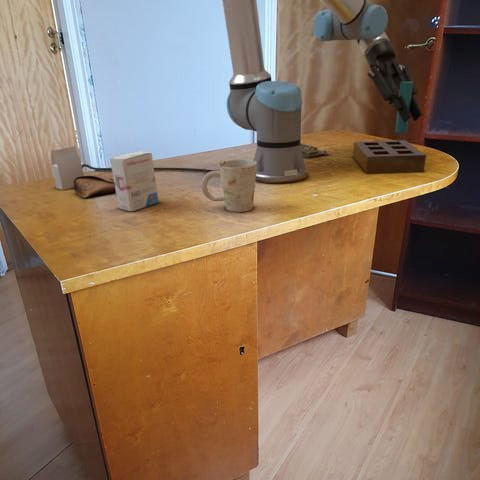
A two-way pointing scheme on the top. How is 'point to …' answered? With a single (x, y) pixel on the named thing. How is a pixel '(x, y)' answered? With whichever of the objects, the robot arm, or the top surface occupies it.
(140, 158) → the ink box
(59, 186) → the grey box
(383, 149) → the peg board
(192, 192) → the top surface
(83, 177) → the sunglasses case
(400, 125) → the peg
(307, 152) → the keyboard
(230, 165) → the mug
